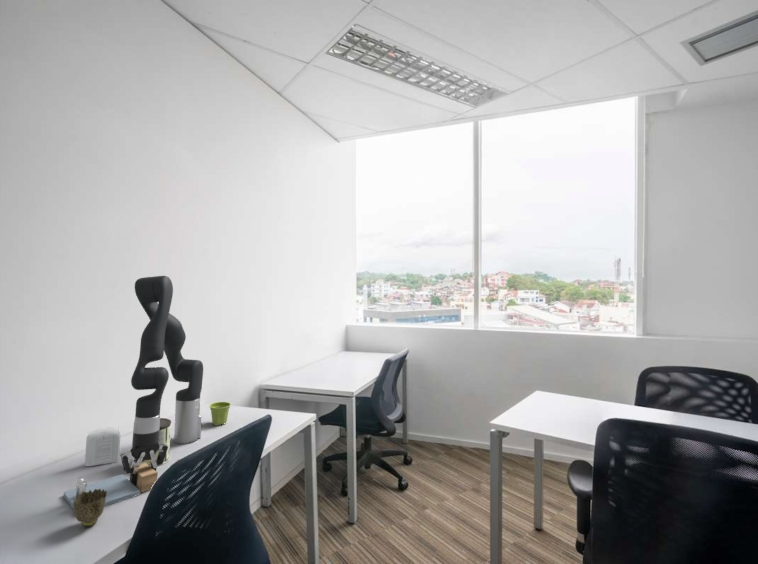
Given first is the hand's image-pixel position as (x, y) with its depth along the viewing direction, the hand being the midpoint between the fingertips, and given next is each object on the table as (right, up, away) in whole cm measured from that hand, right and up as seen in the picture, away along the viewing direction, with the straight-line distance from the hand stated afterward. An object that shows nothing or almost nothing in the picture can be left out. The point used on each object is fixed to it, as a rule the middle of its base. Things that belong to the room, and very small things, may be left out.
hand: (142, 481), depth 132 cm
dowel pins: (-12, 0, -11) cm, 16 cm away
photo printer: (-22, 0, +14) cm, 26 cm away
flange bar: (0, -1, 0) cm, 1 cm away
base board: (-8, -1, -7) cm, 11 cm away
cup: (-2, -2, -21) cm, 22 cm away
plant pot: (+3, -1, +56) cm, 57 cm away
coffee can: (-6, -1, +17) cm, 18 cm away
